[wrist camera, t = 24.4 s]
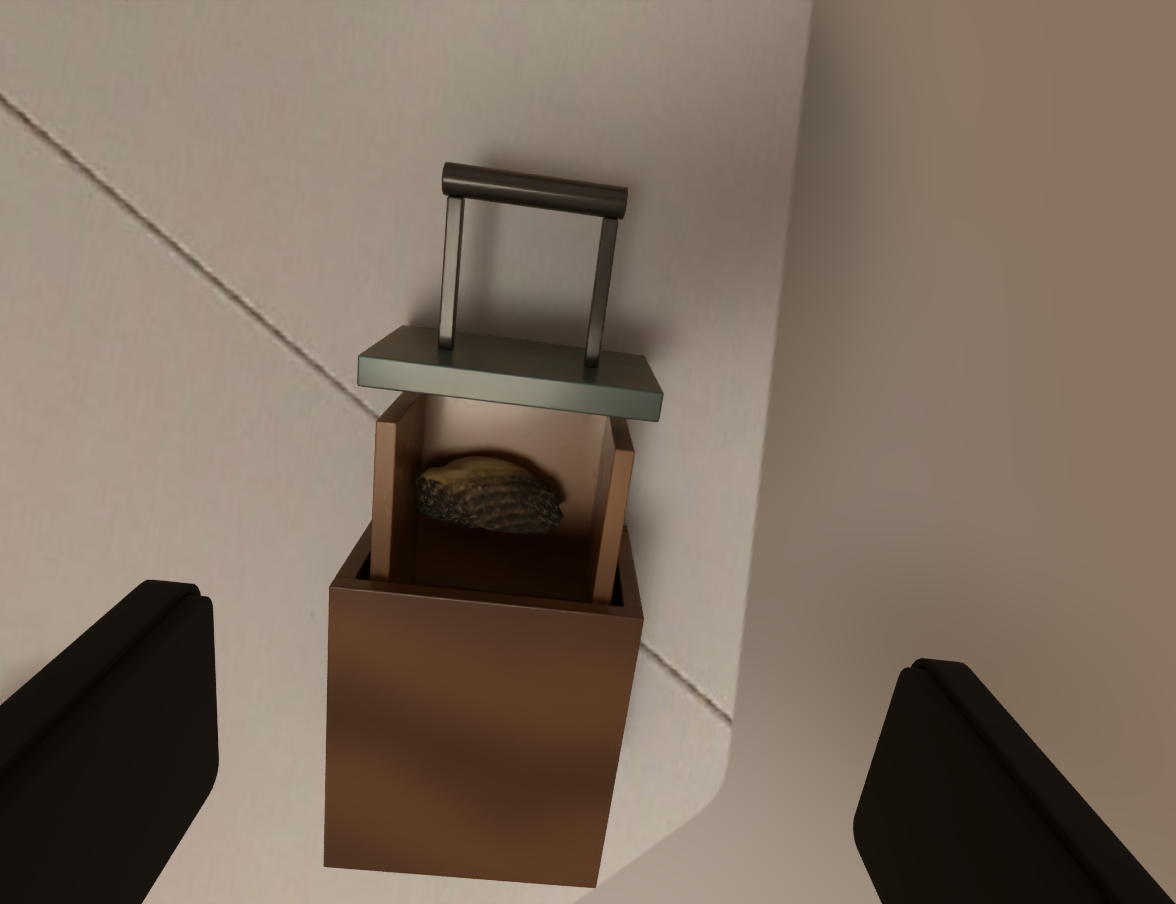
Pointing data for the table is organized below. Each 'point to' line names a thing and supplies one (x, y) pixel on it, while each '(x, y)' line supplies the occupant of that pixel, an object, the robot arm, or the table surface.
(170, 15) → the table surface
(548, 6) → the table surface
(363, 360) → the drawer
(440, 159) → the table surface
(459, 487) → the brazil nut
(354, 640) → the cabinet
